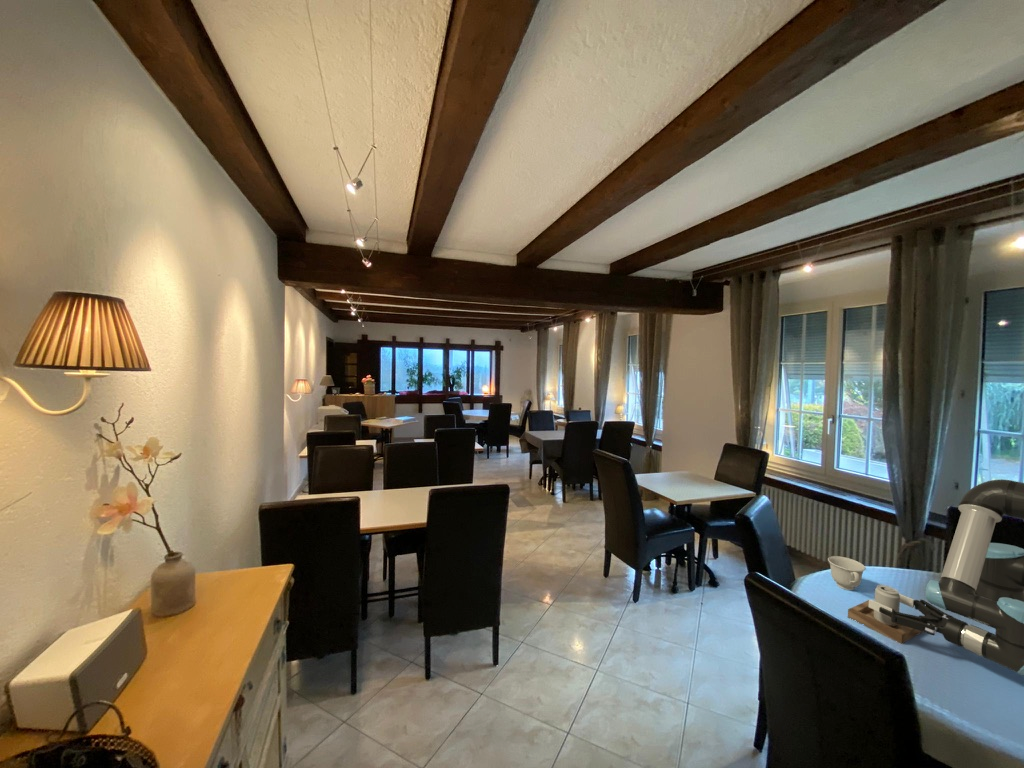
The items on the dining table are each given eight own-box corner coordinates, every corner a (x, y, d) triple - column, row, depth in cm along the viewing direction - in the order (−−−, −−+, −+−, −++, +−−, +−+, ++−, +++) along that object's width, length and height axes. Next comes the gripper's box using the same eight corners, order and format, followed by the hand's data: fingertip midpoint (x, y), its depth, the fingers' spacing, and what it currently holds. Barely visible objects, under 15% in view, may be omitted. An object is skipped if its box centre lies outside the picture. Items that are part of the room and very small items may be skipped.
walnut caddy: (869, 606, 150) (870, 599, 150) (923, 631, 137) (924, 622, 137) (847, 617, 144) (848, 609, 144) (901, 644, 131) (901, 635, 130)
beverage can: (872, 613, 145) (874, 581, 144) (896, 620, 141) (898, 588, 140) (874, 622, 140) (876, 589, 139) (899, 630, 136) (901, 596, 135)
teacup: (838, 596, 157) (839, 571, 157) (821, 576, 172) (822, 554, 171) (875, 601, 154) (876, 576, 153) (855, 581, 168) (856, 558, 167)
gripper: (946, 659, 117) (859, 617, 137) (982, 636, 127) (897, 600, 147) (947, 635, 117) (860, 596, 136) (984, 613, 127) (898, 580, 146)
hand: (879, 598), depth 142 cm, fingers open, 13 cm apart
